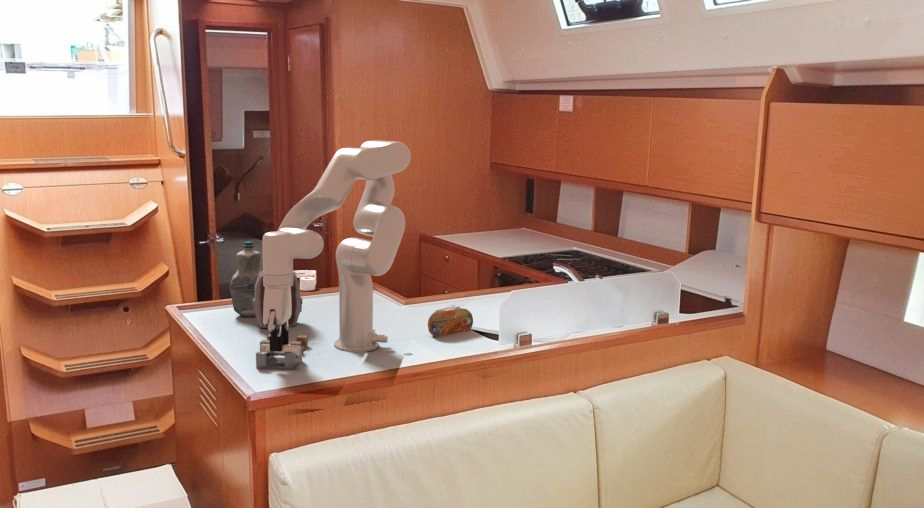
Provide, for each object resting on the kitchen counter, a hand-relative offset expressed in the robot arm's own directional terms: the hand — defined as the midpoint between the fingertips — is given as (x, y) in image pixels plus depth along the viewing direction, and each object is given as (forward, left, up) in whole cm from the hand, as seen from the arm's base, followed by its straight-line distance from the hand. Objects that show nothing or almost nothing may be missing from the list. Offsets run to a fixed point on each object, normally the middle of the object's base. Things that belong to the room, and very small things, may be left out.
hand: (279, 347), depth 198 cm
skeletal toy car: (+22, -86, -5) cm, 89 cm away
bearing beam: (+3, -14, -5) cm, 15 cm away
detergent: (+24, -47, -5) cm, 54 cm away
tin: (-42, -35, -5) cm, 55 cm away
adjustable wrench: (-37, -48, -4) cm, 61 cm away
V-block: (0, 0, -5) cm, 5 cm away
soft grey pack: (+12, -37, -5) cm, 39 cm away
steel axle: (0, 0, -1) cm, 1 cm away
